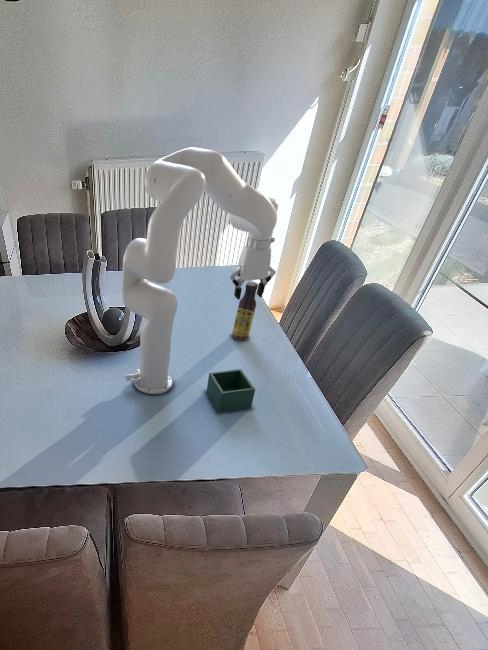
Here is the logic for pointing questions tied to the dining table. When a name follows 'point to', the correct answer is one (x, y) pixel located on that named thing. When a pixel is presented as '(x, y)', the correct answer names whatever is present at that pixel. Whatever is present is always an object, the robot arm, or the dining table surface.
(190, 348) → the dining table surface
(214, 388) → the dark green storage bin
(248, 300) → the sauce bottle
